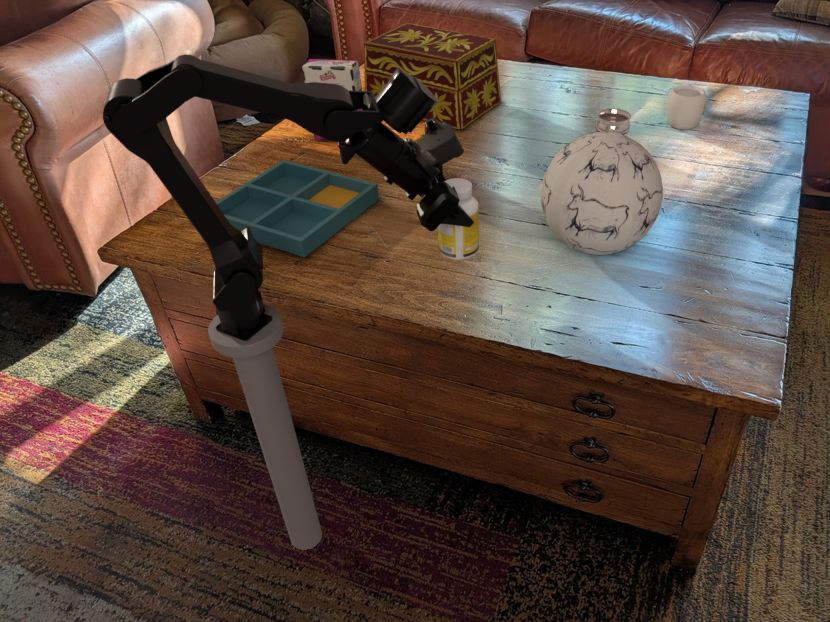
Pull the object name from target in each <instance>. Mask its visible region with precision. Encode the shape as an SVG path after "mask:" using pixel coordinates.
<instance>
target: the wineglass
mask: <svg viewBox="0 0 830 622" xmlns="http://www.w3.org/2000/svg"><path fill="white" fill-rule="evenodd" d="M596 116H597V119H596V121H595V125H594V126H595V131H596V132H613V133H618V134H622V135H625V136H628V134H629V132H630V129H631V122H630V120H631V119H632V114H631V112H629V111H627V110H625V109H621V108H613V107H612V108H604V109H600V110H599V111H597V113H596Z"/></svg>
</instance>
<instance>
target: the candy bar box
mask: <svg viewBox="0 0 830 622" xmlns="http://www.w3.org/2000/svg"><path fill="white" fill-rule="evenodd" d="M301 70H302V75H303V81H304V83H309V82H318V83H328V84H337V85H340V86H342V87H344V88H346V89H347V90H351V91H363V87H362V78H361V71H360V63H359V60H349V59H348V60H347V59H320V58H319V59H317V58H315V59H314V58H309V59H308V60H307V61H306V62H305V63H304V64H303V65H302V66H301ZM358 110H362V108H361V109H358ZM313 137H314V138H313V139H314V141H319V142H331V141H330V140H327V139H325V138H322V137H320V136H318V135H315V134H313Z"/></svg>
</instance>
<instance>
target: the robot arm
mask: <svg viewBox="0 0 830 622" xmlns="http://www.w3.org/2000/svg"><path fill="white" fill-rule="evenodd" d="M194 98H200V99H203V100H208V101H211V102H215V103H219V104H224V105H228V106H232V107H236V108H240V109H245V110H249V111H253V112H257V113H260V114H265V115H269V116H272V117H277V118H282V119H285V120H287V121H290V122H292V123H294V124H296V125H297V126H299V127H301V128H302V129H303V130H305V131H307V132H309V133H311V134H313V135H314V134H315V135H318V136H320V137H322V138H325V139H327V140H330V141H329V142H333V143H337V147H338V150H339V155H340V160H341V163H342V164H343V165H347V164H349V162H350V161H351V160H352V159H353V158H354V156H357V157H359V158H360V159H361V160H363V161H364V162H365V163H367V164H368V165H369V166H371V167H372V168H373V169H375V170H376V171H377V172H378V173H380V174H382V175H383V178H384V181H385V182H386V183H387V184H389V186H392V185H393V184H395V185H396V186H398V187H399V188H400V189H402V190H403V191H404V193H405V195H406V198H408V199H409V200H410V201H413V200H415V199H416V197H417V196H419V197H420V198H421V199H420V200H419V202H418V203H416V205H415V209H416V210H415V211H416V215H417V218H418V220H419V223H420V225H421V226H422V227H424V228H425V229H426V230H428V231H429V232H431V233H432V232H435V231H436V230H437V229H438V226H439V225H440V224H449V225H457V226H464V227H470V226H471V225H472V224H473V223H474V221H473V220H472V218H471V217H470V216H469V215H468V214H467V213H466V212H465V210H464V209H463V208H462V207H461V206H460V205H459V201H460V199H459V197H458V194H457V192H456V190H455V188H454V186H453V187H451V186H450V185H449V184H447V183H446V182H444V181H446V180H448V179H447V177H446V176H445V175H444V165H445V164H447V163H448V162H450V161H452V160H453V159H456V158H457V159H459V158H460V157H461V156H462V155H464V153H465V149H464V147H463V145H462V144H461V142H460V140H459V138H458V135H457V134H456V132H455V129H454V128H452V127H451V125H450V124H446V122H443V124H444V125H443V124H442V123H441V122H439V121H438V120H436V119H435V118H431V119H429V120H427V121H424V133H423V134H421V138H420V139H419V140H416V141H415V140H413V139H412V138H410V137H408V138H407V137H406V136H405V137H404V138H402V137H401V136H400V135H398V134H404V135H407V134H408V133H413V132H414V130H415V129H416V128H417V127H418V125H419V124H420V123H421V122H423V121H422V120H423V118H424V117H425V116H426V115H427V114H428V113H429V111H430V110H431V109H432V108H433V107H434V106H435V104H436V103H437V102H438V100H437V99H436V97H435V96H434V95H433V94H432V92H431V91H430V90H429V89H428V88H427V87H426V86H425V85H424V84H423V83H422V82H421V81H420V80H418V79H417V78H416V77H413V76H411V75H410V74H408V73H406V72H404V71H403V70H402V69H400V68H397V69H396V70H395V71H394V73H393V74H392V76H391V78H390V80H389V81H388V82H387V84H386V85H385V86H384V87H383V88H382V90H381V91H380V92H379V93H378V94H377V96H376V97H375V95H374V93H373V92H372V91H365V90H362V91H351V90H347V89H346V88H344V87H342V86H340V85H337V84H328V83H318V82H309V83H305V82H301V83H296V82H295V83H294V82H288V81H283V80H279V79H275V78H272V77H268V76H264V75H260V74H257V73H253V72H249V71H245V70H241V69H237V68H233V67H230V66H227V65H223V64H219V63H215V62H211V61H208V60H204V59H200V58H199V57H197V56H195V55H192V54H185V53H184V54H181V55H178V56H177V57H176V58H174V59H172V60H170V61H169V62H168V63H165V64H162V65H159V66H158V67H154V68H152V69H150V70H147V71H145V72H144V73H142V74H141V75H140V76H138V77H136V78H128V77H127V78H126V77H125V78H122V79H119V80H116V81H115V82H113V84H112V85H111V87H110V88H109V91H108V94H107V97H106V100H105V103H104V106H103V111H102V121H103V124H104V126H105V128H106V129H107V131H108V132H109V133H110V134H111V135H112V136H113V137H114V138H115V139H116V140H117V141H118V142H119V143H120V144H121V145H122V146H123V147H124V148H125V149H126V150H127V151H128V152H130V153H131V154H133V155H135V156H136V157H138V158H139V159H141V160H143V161H144V162H145V163H146V164H147V165H148V166H149V167H150V168H151V170H152V171H153V173H154V175H156V176H157V178H158V180H159V181H160V182H161V183H162V185H163V186H164V187H165V189H166V190H167V192H168V193H169V194H170V196H171V197H172V199H173V200H174V201H175V203H176V204H177V205H178V207H179V208H180V209H181V211H182V212H183V214H184V215H185V216H186V218H187V219H188V221H189V222H190V224H191V225H192V227H194V229H195V231H197V233H198V235H200V237H201V239H202V240H203V241H204V243H205V244H206V245H207V247H208V249H209V250H208V251H209V252H210V255H211V258H212V261H213V264H214V269H213V270H212V271H213V278H212V304H213V305H214V306H215V310H216V313H217V315H218V316H219V319H220V322H221V323H220V324H218V325H217V326H216V327H215V328H216V330H217V331H219V332H222V333H225V334H227V335H230V336H232V337H235V338H238V339H240V340H243V341H248V340H249V339H250V338H252V337H253V336H254V335H255V334H256V333H258V332H259V331H260V330H261V329H262V328H264V327H265V326H266V325H267V324H268V323H270V322H271V321H272V320H273V318H272V316H270V315H267V314H264V313H265V308H264V304H265V303H264V300H263V296H262V293H261V291H260V290H259V289H260V288H261V287H262V285H263V282H264V273H263V270H264V257H263V254H264V253H263V244H261V243H258V242H257V241H256V240H255V239H254V237H253V235H252V232H251V230H250V228H249V227H247V228H245V229H244V230H242V231H240V230H238V229H236V228H235V227H233V226H232V225H231V224H230V223H229V221H228V220H227V218H226V217H225V215H224V214H223V212H222V211H221V210H220V208H219V207H218V205H217V204H216V202H217V201H215V199H214V198H213V196H212V195H211V193H210V192H209V190H208V189H207V188H206V186H205V185H204V183H203V182H202V180H201V179H200V177H199V176H198V174H197V173H196V171H195V170H194V169H193V167H192V166H191V164H190V162H189V160H187V158H186V157H185V155H184V154H183V152H182V151H181V150H180V148H179V147H178V145H177V144H176V142H175V140H174V137H173V134H172V131H171V127H170V125H169V121H168V119H167V118H168V117H170V116H171V115H172V114H173V113H174V112H175V111H177V110H178V109H179V108H180V107H181V106H182V105H184V104H185V103H186V102H188V101H190V100H191V99H194ZM361 108H362V110H358V109H361ZM383 122H384V123H383ZM385 123H386V124H385ZM396 132H397V133H396Z"/></svg>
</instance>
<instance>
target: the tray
mask: <svg viewBox="0 0 830 622" xmlns="http://www.w3.org/2000/svg"><path fill="white" fill-rule="evenodd" d="M379 200H380V195H379V187H378V183H374V182H371V181H367V180H363V179H359V178H355V177H352V176H349V175H348V176H347V175H345V174H341V173H336V172H332V171H330V170H329V171H328V170H325V169H321V168H317V167H313V166H309V165H305V164H301V163H298V162H294V161H290V160H286V159H282V160H281V161H279V162H278V163H276V164H274V165H273V166H271V167H269V168H268V169H267V170H265V171H263V172H262V173H260V174H258V175H257V176H255V177H254V178H252V179H250V180H249V181H247V182H245V183H244V184H242V185H240V186H239V187H237V188H236V189H234V190H233V191H231V192H229V193H228V194H226V195H224V196H223V197H221V198H219V199H218V200H217V201H215V202H216V204H217V205H218V207H219V208H220V210H221V211H222V212H223V214H224V215H225V217H226V218H227V220H228V221H229V223H230V224H231V225H232V226H233V227H235V228H236V229H238V230H240V231H242V230H244V229H245V228H247V227H249V228H250V230H251V232H252V235H253V237H254V239H255V240H256V241H257V242H258V243H260V244H261V245H264V246H267V247H271V248H273V249H276V250H280V251H283V252H287V253H288V254H289V253H290V254H292V255H296V256H299V257H302V258H306V257H308V255H310V254H311V253H313V252H314V251H315V250H316V249H318V248H319V247H320V246H321V245H323V244H324V243H325V242H326V241H328V240H329V239H331V238H332V237H333V236H334V235H336V234H337V233H338V232H339V231H341V230H342V229H343V228H345V227H346V226H347V225H349V224H350V223H351V222H352V221H354V220H355V219H356V218H357V217H359V216H360V215H361V214H362V213H364V212H366V210H368V209H369V208H370V207H371V206H373V205H374V204H375V203H376V202H377V201H379Z"/></svg>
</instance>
